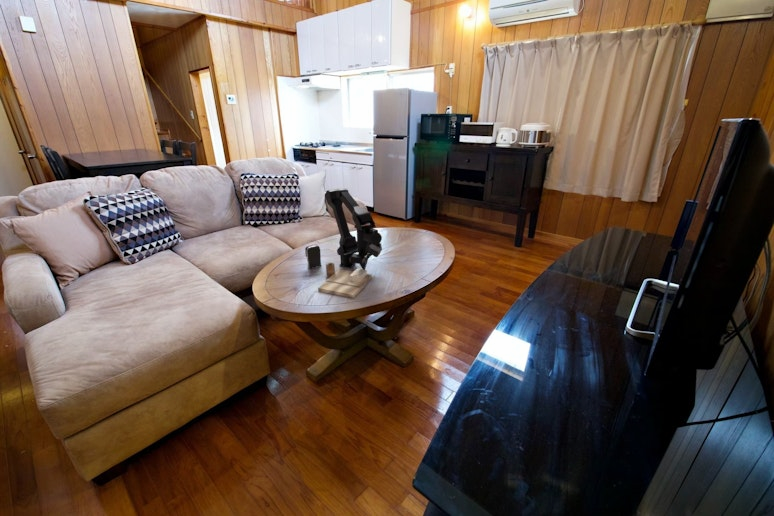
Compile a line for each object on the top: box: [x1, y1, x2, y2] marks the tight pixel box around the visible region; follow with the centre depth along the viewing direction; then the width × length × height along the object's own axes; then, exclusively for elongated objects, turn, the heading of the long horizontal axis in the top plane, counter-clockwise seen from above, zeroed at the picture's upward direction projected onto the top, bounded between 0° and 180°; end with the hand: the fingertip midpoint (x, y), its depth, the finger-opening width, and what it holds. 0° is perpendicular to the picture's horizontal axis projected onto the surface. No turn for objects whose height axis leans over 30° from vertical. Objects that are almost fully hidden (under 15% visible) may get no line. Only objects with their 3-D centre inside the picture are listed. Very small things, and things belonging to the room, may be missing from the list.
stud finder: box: [350, 268, 368, 282], centre depth 152 cm, size 5×8×3 cm, turn 160°
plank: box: [317, 269, 373, 299], centre depth 150 cm, size 17×20×2 cm
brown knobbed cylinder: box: [325, 262, 336, 279], centre depth 157 cm, size 4×4×7 cm
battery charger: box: [304, 244, 322, 270], centre depth 165 cm, size 7×4×11 cm, turn 129°
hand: (364, 269), depth 158 cm, fingers closed
